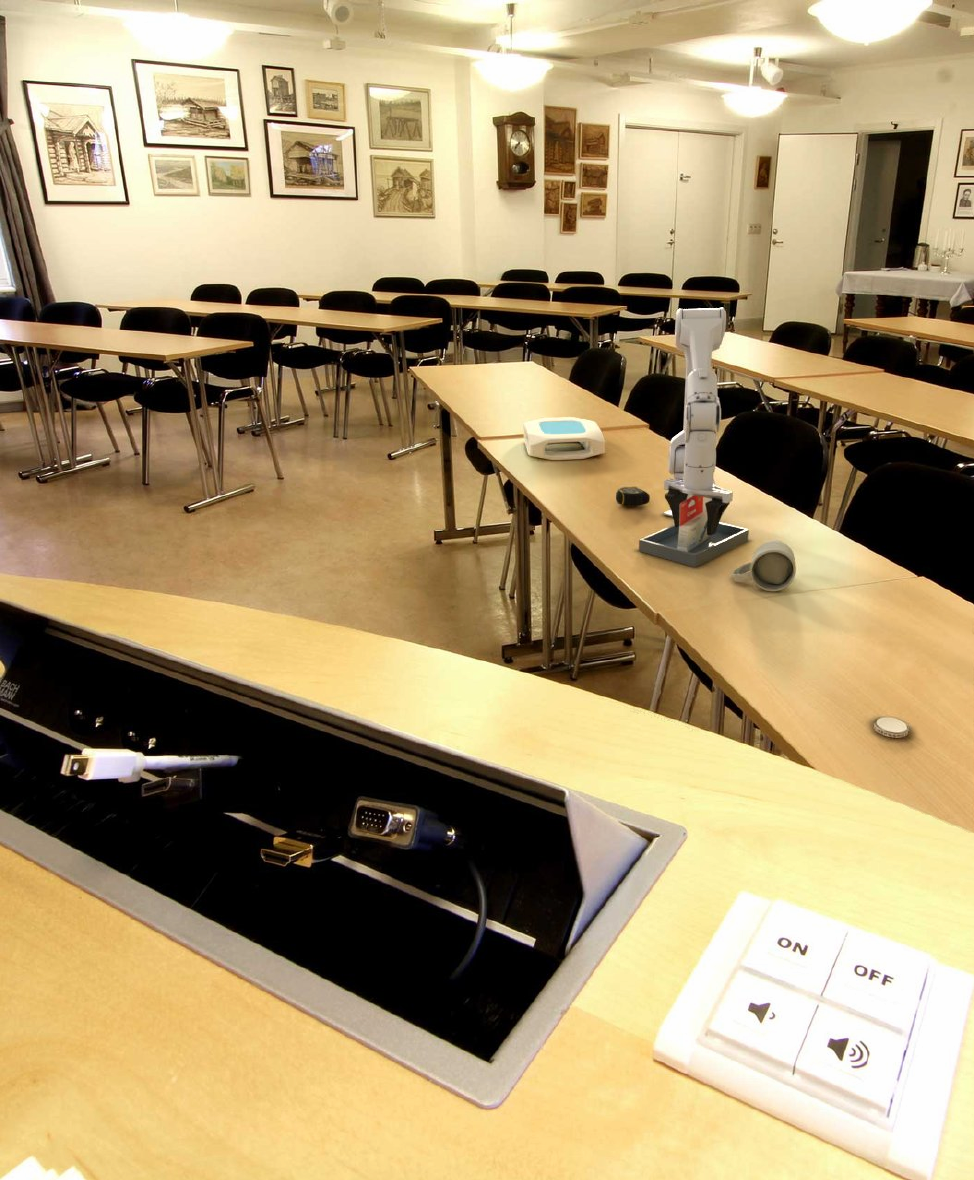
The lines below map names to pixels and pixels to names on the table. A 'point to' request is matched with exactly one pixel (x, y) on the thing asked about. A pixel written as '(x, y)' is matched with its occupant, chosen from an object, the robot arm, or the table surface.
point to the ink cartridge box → (692, 524)
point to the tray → (713, 546)
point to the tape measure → (632, 497)
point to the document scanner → (563, 437)
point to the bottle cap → (891, 727)
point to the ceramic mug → (769, 567)
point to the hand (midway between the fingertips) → (694, 529)
